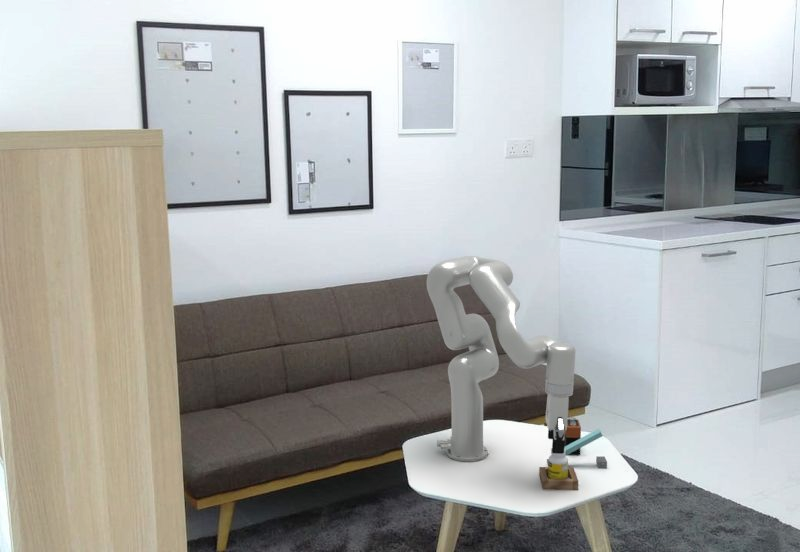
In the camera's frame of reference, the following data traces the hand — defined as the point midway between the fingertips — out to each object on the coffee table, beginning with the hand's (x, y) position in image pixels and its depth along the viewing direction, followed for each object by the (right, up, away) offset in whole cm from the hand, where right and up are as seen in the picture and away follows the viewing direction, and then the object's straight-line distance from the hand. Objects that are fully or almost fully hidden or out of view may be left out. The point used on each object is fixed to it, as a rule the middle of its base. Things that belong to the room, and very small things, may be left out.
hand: (555, 445), depth 236 cm
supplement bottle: (+1, -11, +1) cm, 11 cm away
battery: (+9, -7, +23) cm, 26 cm away
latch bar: (+9, -3, +12) cm, 15 cm away
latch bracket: (+8, -8, +13) cm, 17 cm away
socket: (+1, -11, +1) cm, 11 cm away
